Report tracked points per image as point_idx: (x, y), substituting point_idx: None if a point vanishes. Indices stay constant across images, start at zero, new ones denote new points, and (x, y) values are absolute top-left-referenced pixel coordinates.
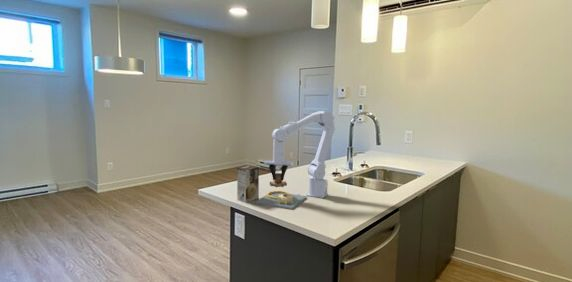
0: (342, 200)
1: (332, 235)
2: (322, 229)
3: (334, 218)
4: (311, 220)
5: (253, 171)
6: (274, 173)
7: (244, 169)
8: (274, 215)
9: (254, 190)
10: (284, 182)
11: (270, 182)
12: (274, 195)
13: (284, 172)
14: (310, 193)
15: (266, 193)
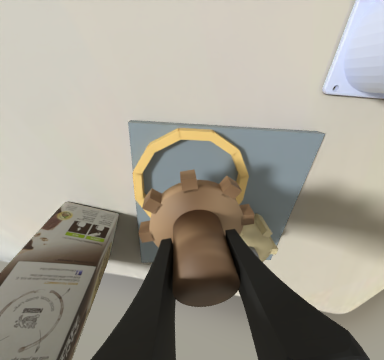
0: None
1: (345, 310)
2: (332, 302)
3: (373, 260)
4: (316, 283)
5: None
6: (170, 301)
7: None
8: None
9: (103, 264)
10: (236, 211)
11: (147, 240)
12: (172, 183)
13: (267, 281)
14: (357, 85)
15: (137, 201)
